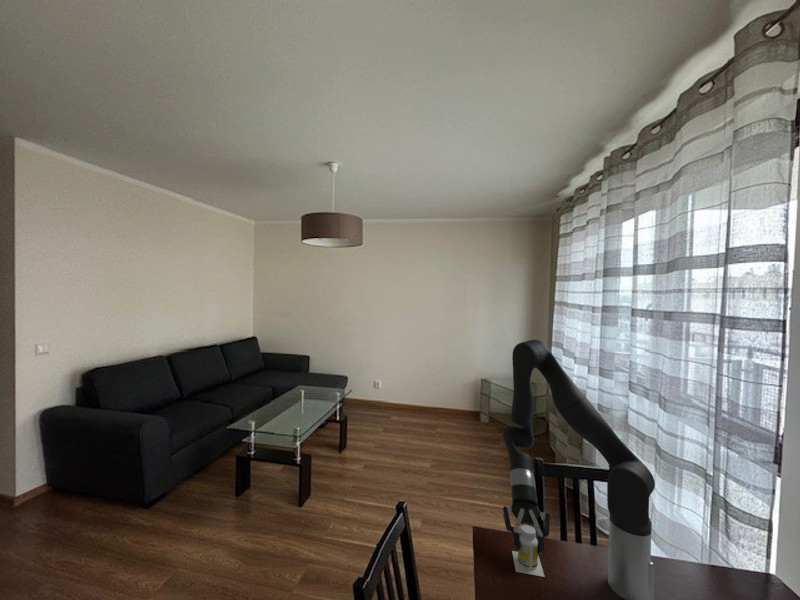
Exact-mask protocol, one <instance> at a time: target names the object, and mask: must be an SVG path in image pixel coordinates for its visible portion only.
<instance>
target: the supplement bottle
mask: <svg viewBox="0 0 800 600" xmlns="http://www.w3.org/2000/svg"><path fill="white" fill-rule="evenodd" d="M520 526H521V527H520V533H518V534H519V544H520V550H517V552H518V561H519V563H520V565H521V566H523V567H524V568H526V569H530V570H533V569H536V568H537V566H538V556H539V554H538V540H537V535H536V530H535V529H534V528H533V527H532V526H531V525H527V524H521V525H520Z"/></svg>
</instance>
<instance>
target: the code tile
mask: <svg viewBox="0 0 800 600" xmlns="http://www.w3.org/2000/svg"><path fill="white" fill-rule="evenodd" d="M511 552H512V557H513V558H512V559H513V564H514V568H515V569H514V570H515V572H516V573H520V574H521V573H522V574H527V575H532V576H537V577H540V578H541V577H544V578H546V577H545V574H544V570H543V566H542V563H541V559H540V556H539V555H538V566H537V568H536V569H533V570H530V569H526V568H524V567H523V566H521V565H520V563H519V561H518V551H517V550H516V551H515V550H512V551H511Z"/></svg>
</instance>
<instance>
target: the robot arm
mask: <svg viewBox="0 0 800 600" xmlns="http://www.w3.org/2000/svg"><path fill="white" fill-rule="evenodd" d="M511 356H512V357H511V358H512V376H513V377H512V378H513V381H512V383H513V397H512V405H511V411H510V418H511V421H512V422H513V423H514V424H516V425H518V426H515V425H506V426H505V427H504V429H503V432H502V438H503V442H504V445H505V448H506V451H507V453H508V457H509V464H510V467H509V468H510V484H509V485H510V488H511V490H510V491H511V502H512V503H511V506H510V507H509V506H508V507H507V506H505V505H504V506H503V507H502V515H503V520H504V525H505V530H506V531H507V532H509V533H511V534H512V539H513V547H514V548H516V549H515V550H516V551H518V550H520V544H519V534H520V533H519V529H520V526H521V525H529V526H532V527H533V528H534V529H535V530H536V538H537V540H538V555H542V554H543V553H544V550H545V546H544V538H548V536H550V527H551V525H550V524H551V523H550V522H551V514H550V513H549V512H546V513H545V512H543V511H541V510H540V508H539V504H538V498H537V497H538V496H537V489H536V488H537V487H536V481H535V476H534V471H533V469H534V467H533V461H532V457H531V456H530V454H528V453H527V452H524V451H521V450H519V449H525V450H529V449H531V448H533V447H534V445H535V435H534V431H533V430H534V429H533V414H534V408H535V399H534V394H533V391H532V389H531V377H532V373H533V371H534V369H537V370H538V371H539V372H540V374H542V376H543V378H544V380H546V382H547V383H548V384H547V385H548V387H549V389H550V392H551V393H550V394H551V397H552V400H553V403H554V406H555V408H556V410H557V412H559V414H560V416H561V417H562V419H564V421H565V422H566V424H567V425H568V426H569V427H570V428H571V429H572V430H573V431H574V432H575V434H578V435H579V437H582V439H583V440H585V441H587V442H588V443H589V444H590V445H591V446H593V448H595V449H596V450H597V451H598V452H599V454H601V456H602V457H603V458H604V460H605V461H606V462H607V464H608V465H609V466H610V468H611V470H610V471H609V473H608V476H607V485H606V487H607V488H606V490H607V491H606V494H607V495H606V498H607V499H606V501H607V510H608V512H609V516H608V517H609V525H608V531H609V532H608V556H607V557H608V558H607V559H608V560H607V583H608V586H609V587H610V589H611V590H612V591H613V593H615V594H616V595H617V596H619V597H620V598H622V599H623V600H655V599H654V598H655V597H654V596H655V595H654V594H655V591H654V590H655V564H654V563H653V561H652V560H651V559H652V554H651V551H652V521H651V519H650V497H651V495H652V493H653V492H654V490H655V486H656V482H655V478H654V476H653V475H654V474H652V472H651V470H649V468H648V467H647V466H646V464H645V463H643V461H641V459H639V458H638V456H637V455H636V454H635V453H634V452H633V451H632V450H631V449H630V448H629V447H628V446H627V445H626V444H625V443H624V442H623V441H622V440H621V439H620V437H619V436H618V435H617V434H616V433H615V432H614V430H613V429H612V427H610V425H609V424H608V422H607V421H606V420H605V418H603V416H601V415H602V414H600V413H599V411H598V410H597V409H596V408H595V407H594V405H593V404H592V402H590V400H589V399H588V398H587V397H586V396H585V394H584V393H583V392H582V391H581V390H580V389H579V388H578V386H577V385H576V384H575V383H574V382H573V380H572V379H571V378H570V376H569V375H568V374H567V373H566V372H565V371H566V370H564V369H563V367H562V365H560V363H559V361H558V360H557V358H556V357H555V355H554V354H553V353H552V351H551V350H550V349H549V347H548V346H547V345H546V344H545V343H544V342H543V341H541V340H539V339H531V340H530V339H529V340H526V341H522V342H519V343H517V344H516V345H515V346H514V347H513V349H512V355H511ZM511 513H512V514H513V516H514V517H515V523H514V526H512V524H511V519H510V516H511ZM539 517H540V518H541V521H542V522H543V531H542V530H541V527H540V524H539V522H538V519H539Z"/></svg>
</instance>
